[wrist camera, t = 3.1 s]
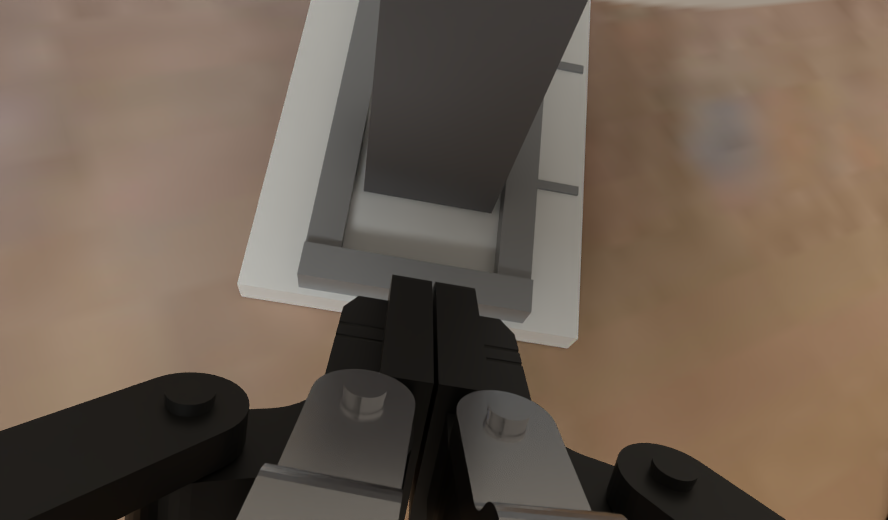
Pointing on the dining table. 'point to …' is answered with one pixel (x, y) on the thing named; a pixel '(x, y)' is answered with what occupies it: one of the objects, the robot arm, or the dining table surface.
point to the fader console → (410, 221)
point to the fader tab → (459, 94)
